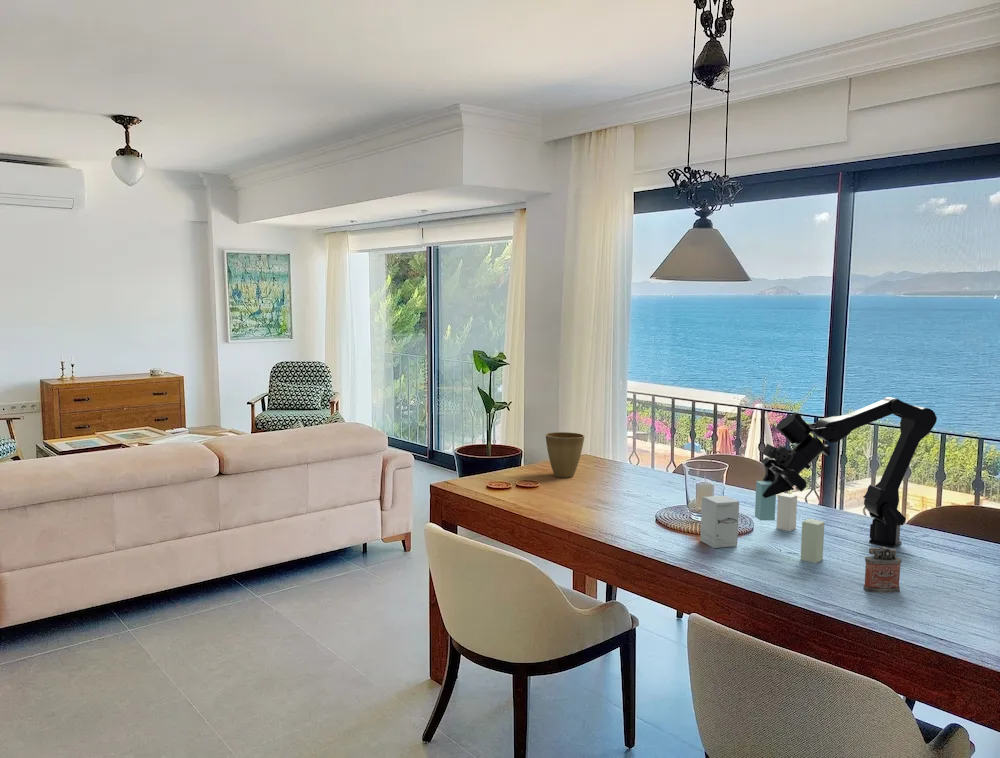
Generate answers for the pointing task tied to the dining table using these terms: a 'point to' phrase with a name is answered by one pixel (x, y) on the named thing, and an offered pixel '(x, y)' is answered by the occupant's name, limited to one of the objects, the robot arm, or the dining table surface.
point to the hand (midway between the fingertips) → (760, 494)
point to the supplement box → (719, 521)
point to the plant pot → (564, 452)
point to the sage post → (812, 540)
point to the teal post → (764, 502)
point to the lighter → (882, 571)
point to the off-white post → (786, 511)
